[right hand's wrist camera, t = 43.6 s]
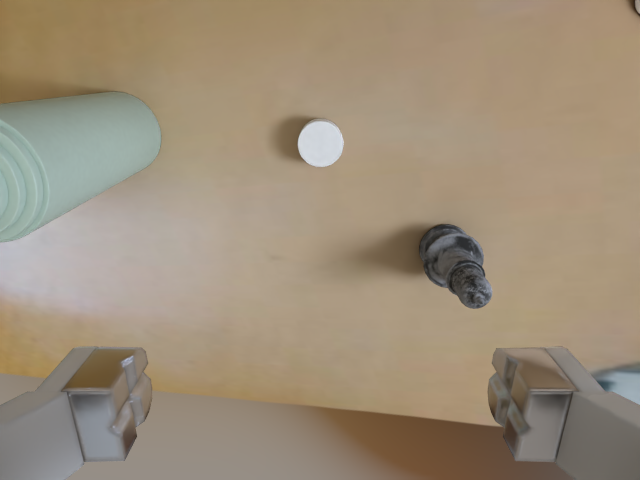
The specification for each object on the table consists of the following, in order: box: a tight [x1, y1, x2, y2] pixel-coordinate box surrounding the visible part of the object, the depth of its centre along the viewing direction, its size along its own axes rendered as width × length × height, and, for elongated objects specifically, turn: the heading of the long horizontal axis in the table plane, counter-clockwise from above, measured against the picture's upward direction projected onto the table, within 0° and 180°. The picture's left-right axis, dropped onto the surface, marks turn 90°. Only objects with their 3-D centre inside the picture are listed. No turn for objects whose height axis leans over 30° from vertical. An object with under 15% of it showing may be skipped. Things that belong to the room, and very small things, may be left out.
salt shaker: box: [419, 224, 492, 309], centre depth 42 cm, size 6×6×12 cm
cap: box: [298, 118, 343, 167], centre depth 42 cm, size 4×4×2 cm
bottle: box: [0, 92, 161, 242], centre depth 32 cm, size 8×8×25 cm
